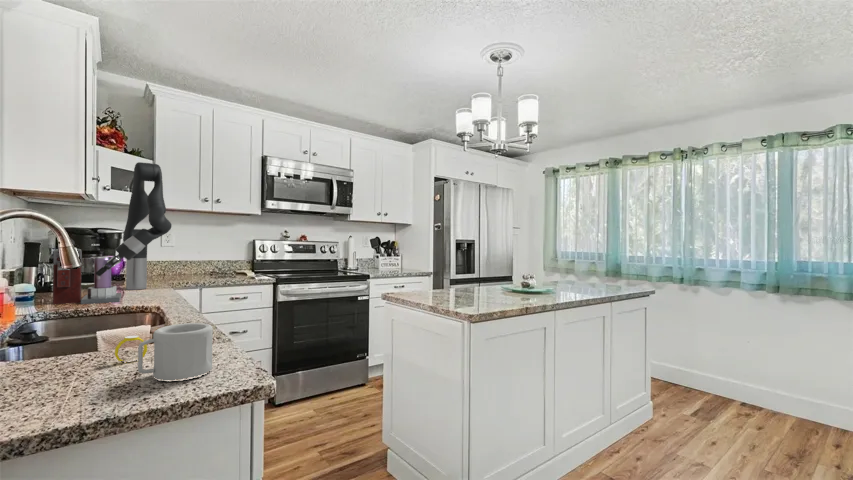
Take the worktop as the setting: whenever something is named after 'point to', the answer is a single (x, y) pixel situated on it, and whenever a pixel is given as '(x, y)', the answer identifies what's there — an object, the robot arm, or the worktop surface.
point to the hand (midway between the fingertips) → (97, 274)
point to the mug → (180, 351)
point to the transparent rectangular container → (101, 295)
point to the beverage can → (105, 278)
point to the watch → (129, 338)
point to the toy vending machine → (66, 282)
